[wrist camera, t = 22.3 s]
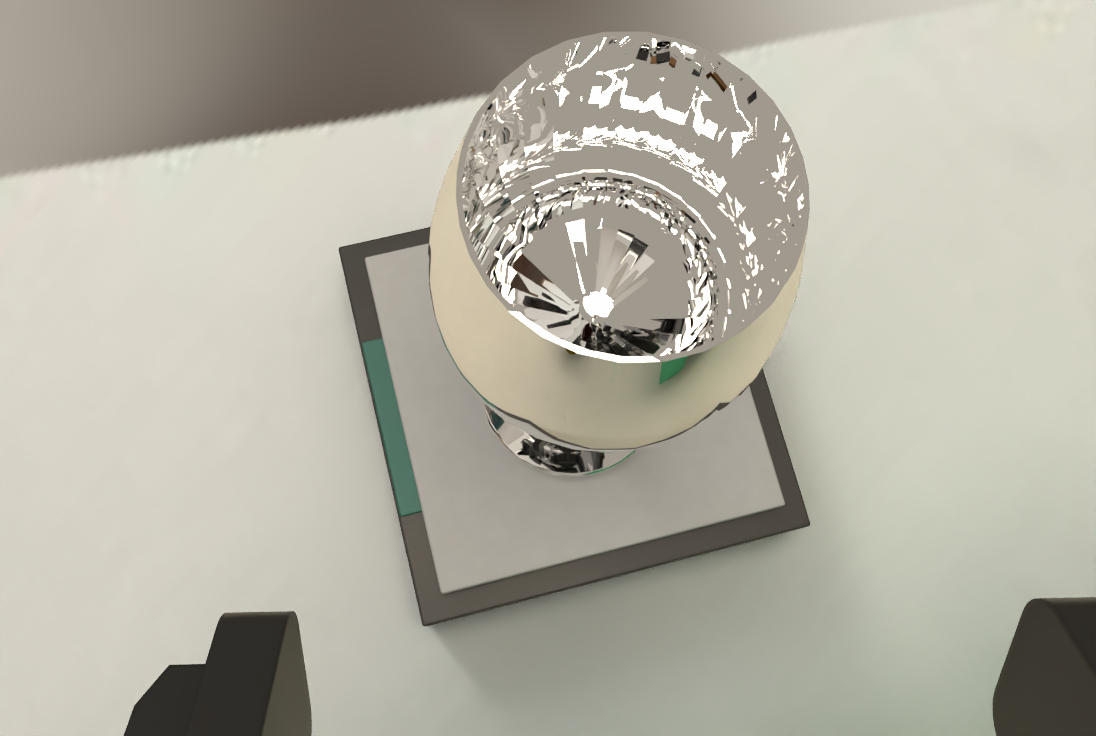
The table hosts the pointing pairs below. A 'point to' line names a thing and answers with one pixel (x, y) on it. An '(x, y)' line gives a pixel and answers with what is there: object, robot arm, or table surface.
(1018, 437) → the table surface
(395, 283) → the kitchen scale
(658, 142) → the wineglass
